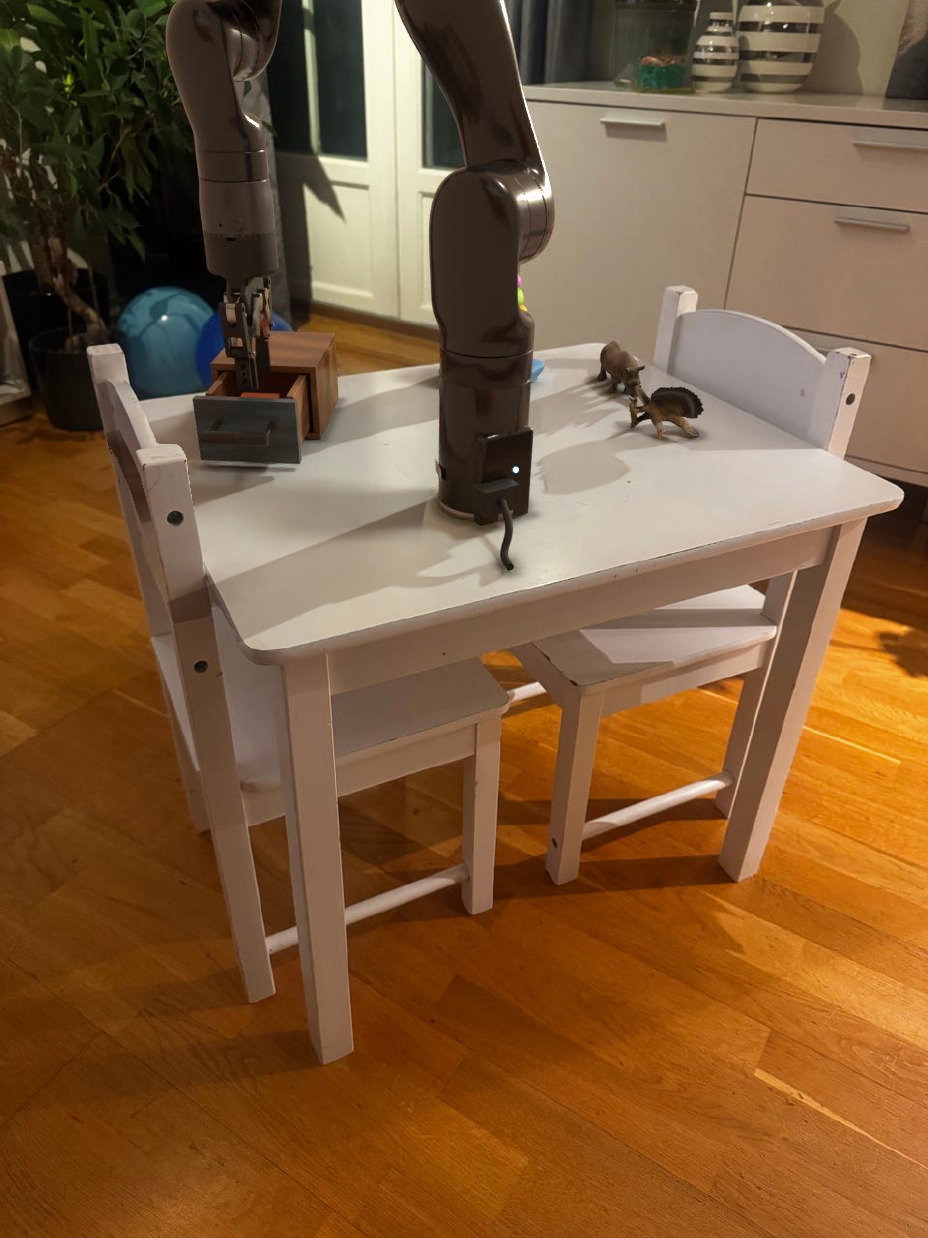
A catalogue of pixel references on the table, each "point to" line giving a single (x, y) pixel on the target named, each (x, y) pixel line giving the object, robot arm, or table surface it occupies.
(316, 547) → the table surface
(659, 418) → the brown plastic figure
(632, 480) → the table surface
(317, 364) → the cabinet
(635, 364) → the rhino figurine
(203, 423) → the drawer
